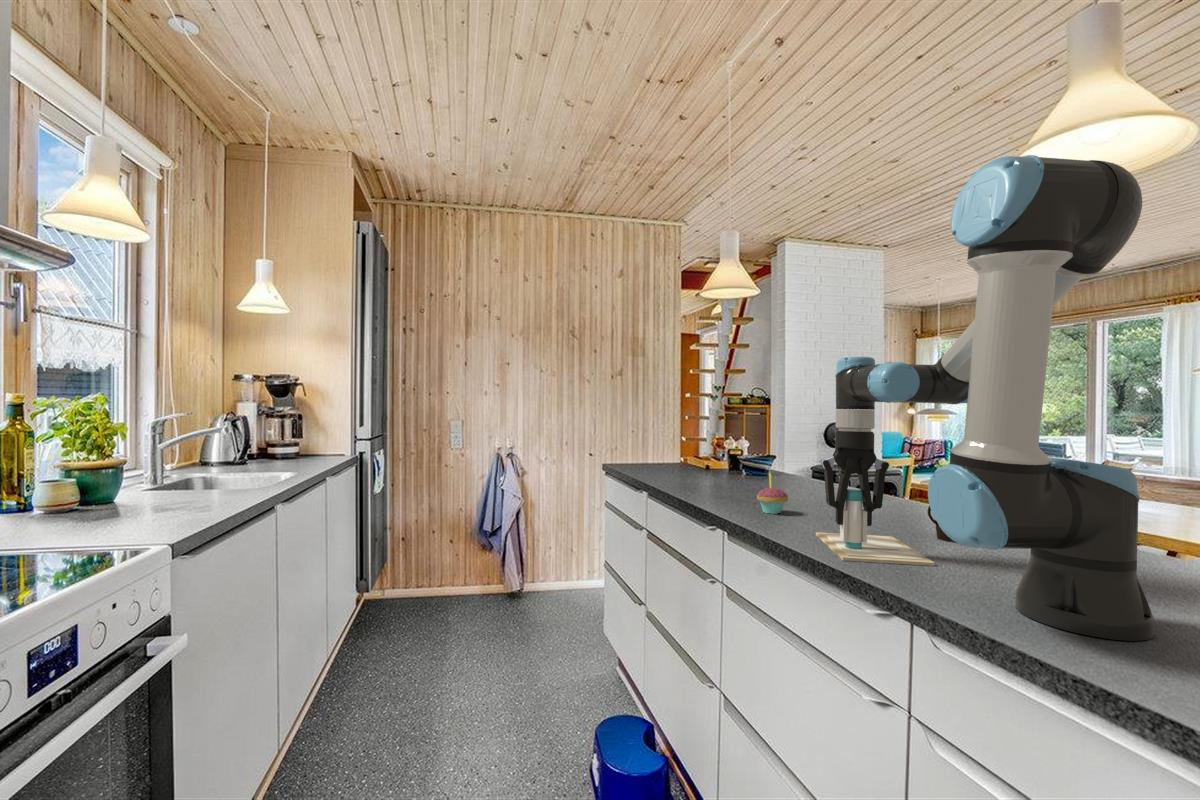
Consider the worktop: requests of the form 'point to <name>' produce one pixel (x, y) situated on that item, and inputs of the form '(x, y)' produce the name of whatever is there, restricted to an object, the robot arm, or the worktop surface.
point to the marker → (854, 518)
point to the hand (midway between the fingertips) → (853, 540)
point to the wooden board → (875, 550)
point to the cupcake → (772, 498)
